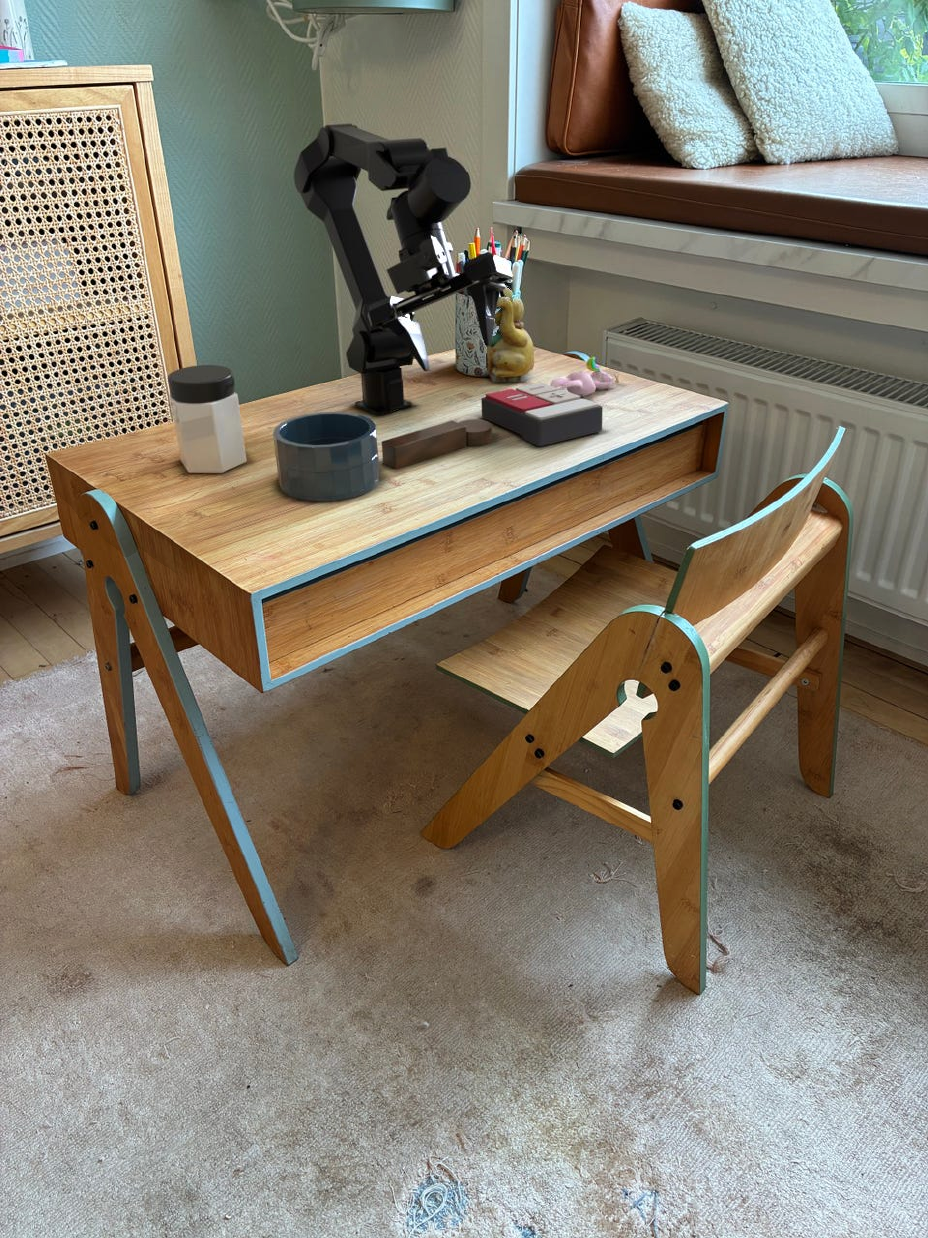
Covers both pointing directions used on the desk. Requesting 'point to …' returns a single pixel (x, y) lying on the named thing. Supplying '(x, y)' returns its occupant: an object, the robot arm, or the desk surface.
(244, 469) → the desk surface
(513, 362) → the decorative figurine
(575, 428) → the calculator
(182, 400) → the jar
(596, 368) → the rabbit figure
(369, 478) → the pot
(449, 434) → the spoon
